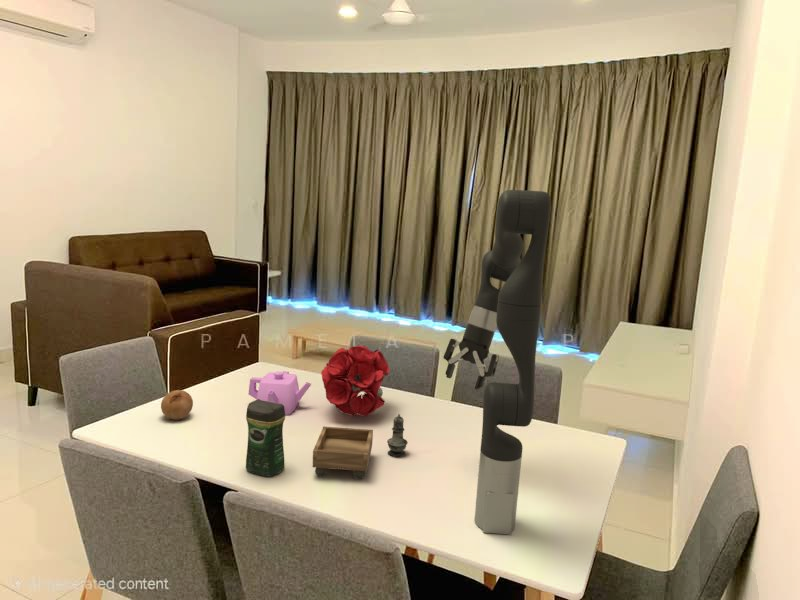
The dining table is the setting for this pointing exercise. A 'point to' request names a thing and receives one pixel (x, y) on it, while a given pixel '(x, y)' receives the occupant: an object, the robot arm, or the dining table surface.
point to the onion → (176, 404)
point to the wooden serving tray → (343, 450)
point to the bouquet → (355, 380)
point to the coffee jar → (265, 437)
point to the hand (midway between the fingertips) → (462, 383)
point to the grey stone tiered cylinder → (397, 439)
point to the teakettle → (278, 389)
